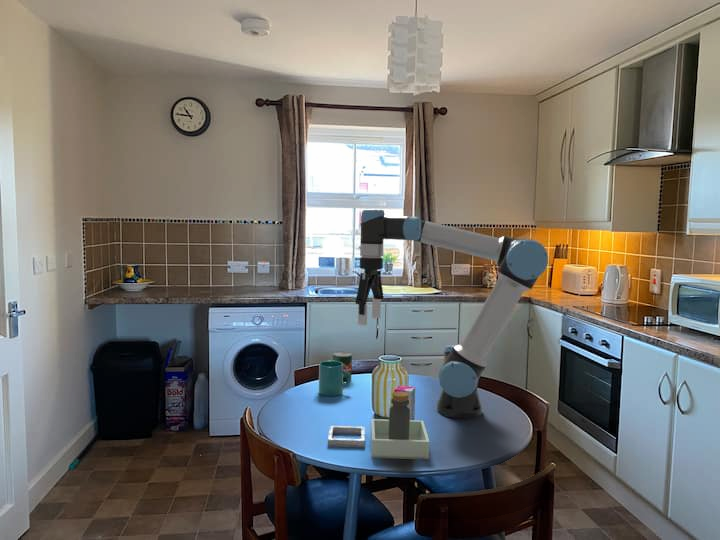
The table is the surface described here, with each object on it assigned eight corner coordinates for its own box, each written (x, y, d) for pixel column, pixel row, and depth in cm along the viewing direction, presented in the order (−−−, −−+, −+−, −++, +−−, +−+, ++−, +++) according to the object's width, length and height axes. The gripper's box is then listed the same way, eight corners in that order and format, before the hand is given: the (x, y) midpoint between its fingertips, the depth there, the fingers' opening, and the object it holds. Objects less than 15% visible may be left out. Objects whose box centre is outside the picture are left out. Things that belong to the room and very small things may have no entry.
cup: (348, 398, 194) (349, 368, 193) (316, 395, 196) (317, 366, 195) (351, 390, 203) (352, 361, 202) (321, 388, 204) (321, 360, 204)
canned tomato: (344, 384, 211) (345, 357, 210) (328, 380, 215) (328, 354, 214) (355, 379, 218) (355, 353, 217) (338, 376, 222) (339, 350, 221)
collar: (364, 433, 162) (364, 426, 162) (364, 447, 151) (364, 440, 151) (330, 432, 162) (330, 425, 162) (327, 446, 151) (327, 439, 151)
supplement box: (414, 420, 173) (416, 386, 172) (410, 427, 168) (411, 391, 167) (397, 418, 175) (398, 384, 174) (392, 424, 169) (393, 389, 169)
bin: (422, 436, 160) (423, 420, 160) (428, 459, 145) (429, 441, 144) (370, 435, 160) (371, 419, 160) (371, 457, 145) (372, 440, 144)
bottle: (386, 447, 150) (388, 395, 149) (390, 439, 156) (392, 389, 155) (406, 450, 149) (408, 398, 148) (410, 442, 154) (412, 391, 153)
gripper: (372, 254, 186) (371, 314, 188) (346, 258, 163) (344, 326, 164) (393, 255, 183) (391, 316, 185) (369, 259, 160) (367, 328, 162)
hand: (369, 321), depth 175 cm, fingers open, 13 cm apart
